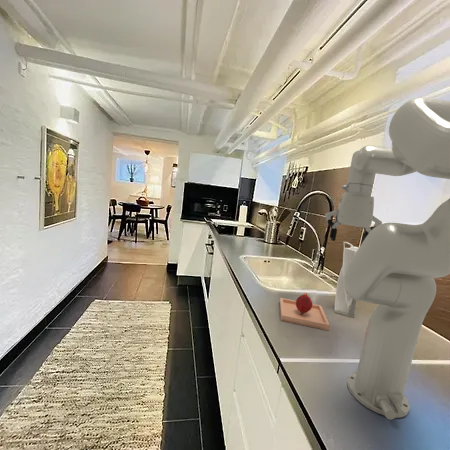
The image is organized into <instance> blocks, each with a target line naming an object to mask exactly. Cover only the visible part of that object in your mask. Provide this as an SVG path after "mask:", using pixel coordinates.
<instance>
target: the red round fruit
mask: <svg viewBox="0 0 450 450" xmlns="http://www.w3.org/2000/svg"><path fill="white" fill-rule="evenodd" d="M295 301H296V307H297V309H298V310H299V311H300V312H301V313H302V314H303V313H306V312H308V311H310V310H311V308H312V304H313V300H312V299H311V297H310V296H308V292H304V293H303V294H302V295H299V296H298V297H297V298H296V300H295Z"/></svg>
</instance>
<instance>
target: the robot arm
mask: <svg viewBox="0 0 450 450" xmlns="http://www.w3.org/2000/svg"><path fill="white" fill-rule="evenodd" d="M388 134H389V138H390V141H391V147H388V146H387V147H386V146H380V145H379V146H377V145H370V144H369V145H365V146H362V147H361V148H360V149H358V150H356V151H354V153H353V154H352V156H351V157H352V158H351V161H350V166H349V172H348V177H347V182H346V183H345V184H342V185H341V188H340V189H341V190H344V192H343V193H342V194H341V197H340V200H339V203H338V206H337V209H336V210H332V211H329V212H326V213H324V216H325V219H326V222H327V224H328V225H329V226H330V233H329V238H330V240H331V242H335V241H336V237H337V233H338V229H337V227H339V226H340V225H345V226H352V227H359V228H362V229H363V230H364V232H363V233H362V236H361V237H362V238H361V242H360V243H361V245H360V246H359V247H358V248H359V249H358V250H357V252H356V253H355V255H354V257H353V258H352V260H351V261H350V263H349V265H348V267H347V269H346V271H345V275H344V288H345V291H346V292H347V294H348V295H349V296H350V297H351V298H353V299H355V300H356V302H361V303H366V304H371V305H372V304H373V305H377V306H375V308H374V309H373V311H372V312H371V314H370V316H369V318H368V320H367V322H368V323H367V326H366V331H365V335H364V339H363V344H362V349H361V353H360V358H359V361H358V365H357V370H356V372H353V373H351V374H349V376H348V377H347V381H346V383H347V389H348V390H349V392H350V394H351V395H352V396H353V397H354V398H355V400H357V401H358V402H359V403H360V404H362V405H363V406H364V407H366V408H367V409H368V410H371V411H372V412H375V413H377V414H379V415H382V416H384V417H385V418H386V419H388V420H394V419H397V418H404V417H406V416H407V415H408V414H409V412H410V408H411V407H410V405H411V404H410V401H409V400H408V398H407V397H406V395H405V390H406V386H407V382H408V378H409V375H410V370H411V366H412V362H413V359H414V355H415V350H416V346H417V344H418V339H419V335H420V332H421V328H422V325H423V322H424V320H425V318H426V315H427V313H428V312H429V309H430V308H431V306H432V305H433V303H434V300H435V299H436V295H437V283H436V281H435V280H436V279H437V278H438V279H439V278H444V277H446V276H449V275H450V198H448V199H447V200H445V201H444V202H442V203H440V204H439V206H438V207H437V208H436V209H435V210H434V212H433V213H432V214H431V215H430V217H428V219H427V220H425V221H424V222H423V223H420V224H408V223H402V222H382V221H381V220H380V219H378V218H377V217H375V215H374V206H375V205H374V204H375V198H374V197H375V196H372V193H373V188H374V183H375V178H376V174H378V175H384V176H392V177H401V176H405V175H406V176H407V175H410V174H414V173H417V174H418V173H419V174H421V175H423V176H426V177H431V178H438V179H445V180H450V100H444V99H436V98H429V97H427V98H426V97H416V98H413V99H410V100H408V101H406V102H405V103H403V104H402V105H401V106H400V107H399V108H398V109H397V110H396V111H395V113H394V114H393V116H392V118H391V120H390V122H389V127H388ZM332 216H335V219H334V220H335V221H334V222H333V221H332V218H331V217H332ZM373 222H374V224H373V225H372V223H373ZM353 299H352V300H353Z"/></svg>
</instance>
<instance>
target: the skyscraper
mask: <svg viewBox="0 0 450 450" xmlns="http://www.w3.org/2000/svg"><path fill="white" fill-rule="evenodd" d="M345 244H347V245H349V246H350V247H345ZM358 249H359V247H358V246H354V245H353V244H352V243H350V242H348V241H343V251H342V253H343V254H342V266H341V268H340V271H339V275H338V278H337V282H336V288H335V297H334V298H335V301H334V305H333V309H334V313H335V314H338V315H341V316H346V317H349V318H355V309H356V303H357V300H355V299H353V298H351V297H350V296H349V295H348V294H347V292H346V291H345V288H344V275H345V271H346V269H347V267H348V265H349V263H350V261H351V260H352V258H353V257H354V255H355V253H356V252H357V250H358Z"/></svg>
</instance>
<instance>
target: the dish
mask: <svg viewBox="0 0 450 450" xmlns="http://www.w3.org/2000/svg"><path fill="white" fill-rule="evenodd" d="M279 311H280V312H279V313H280V321H281V322H286V323H291V324H296V325H301V326H305V327H310V328H313V329H314V328H315V329H318V330H319V329H320V330H324V331H327V332H329V331H330V328H331V327H330V326H331V325H330V322H329V320H328V317H327V316H326V315H327V314H325V311H324V308H323V307H322V305H319V304H315V303H312V308H311V310H310V311H308V312H306V313H303V314H302V313H301V312H300V311H299V310H298V309H297V307H296V300H293V299H288V298H283V297H280V299H279Z"/></svg>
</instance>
